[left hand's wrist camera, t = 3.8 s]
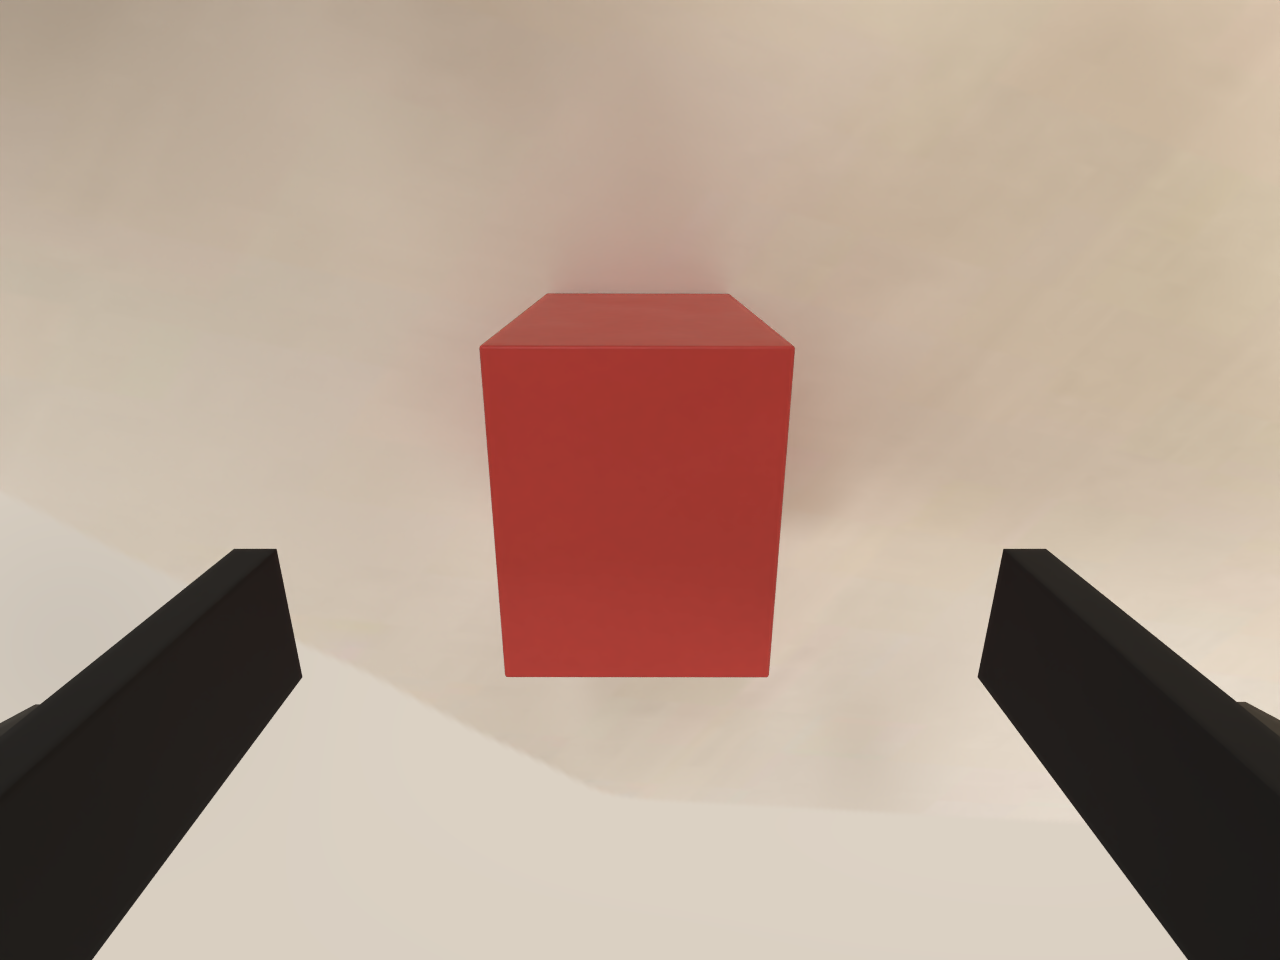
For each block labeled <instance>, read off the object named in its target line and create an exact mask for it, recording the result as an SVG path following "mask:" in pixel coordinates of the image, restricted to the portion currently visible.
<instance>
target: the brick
mask: <svg viewBox="0 0 1280 960" xmlns="http://www.w3.org/2000/svg"><path fill="white" fill-rule="evenodd" d="M794 353H795V348H794V346H793V345H791V344H790V343H789V342H788V341H786V340H785V339H784V338H783V337H781V336H780V335H779V334H778V333H777V332H775V331H774V330H773V329H772V328H770V327H769V326H768V325H767V324H765V323H764V322H763V321H762V320H760V319H759V318H758V317H757V316H756V315H754V314H753V313H752V312H751V311H749V310H748V309H747V308H746V307H744V306H743V305H742V304H741V303H739V302H738V301H737V300H736V299H735V298H733V297H732V296H731V295H729V294H546V295H545V296H544V297H542V298H541V299H540V300H538V301H537V302H536V303H535V304H533V305H532V306H531V307H530V308H528V309H527V310H526V311H524V312H523V313H522V314H521V315H519V316H518V317H517V318H515V319H514V320H513V321H512V322H510V323H509V324H508V325H507V326H505V327H504V328H503V329H501V330H500V331H499V332H498V333H496V334H495V335H494V336H492V337H491V338H490V339H489V340H487V341H486V342H485V343H484V344H482V345H481V346H480V361H481V373H482V386H483V399H484V411H485V424H486V437H487V450H488V462H489V475H490V488H491V501H492V513H493V526H494V539H495V551H496V564H497V577H498V590H499V602H500V615H501V628H502V641H503V653H504V666H505V675H506V677H768V675H769V666H770V653H771V641H772V628H773V616H774V603H775V591H776V578H777V566H778V553H779V541H780V528H781V516H782V503H783V491H784V478H785V465H786V453H787V440H788V428H789V415H790V403H791V390H792V378H793V365H794Z"/></svg>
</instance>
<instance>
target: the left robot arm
mask: <svg viewBox="0 0 1280 960" xmlns="http://www.w3.org/2000/svg"><path fill="white" fill-rule="evenodd" d="M301 678H302V673H301V668H300V663H299V658H298V653H297V648H296V643H295V638H294V633H293V628H292V623H291V618H290V614H289V609H288V604H287V599H286V594H285V589H284V584H283V579H282V574H281V569H280V564H279V559H278V554H277V549H233V550H232V551H231V552H230V553H228V554H227V555H226V556H225V557H223V558H222V559H221V560H220V561H218V562H217V563H216V564H215V565H213V566H212V567H211V568H210V569H208V570H207V571H206V572H205V573H203V574H202V575H201V576H200V577H198V578H197V579H196V580H195V581H194V582H192V583H191V584H190V585H189V586H187V587H186V588H185V589H184V590H182V591H181V592H180V593H179V594H177V595H176V596H175V597H174V598H172V599H171V600H170V601H169V602H167V603H166V604H165V605H164V606H162V607H161V608H160V609H159V610H157V611H156V612H155V613H154V614H152V615H151V616H150V617H149V618H147V619H146V620H145V621H144V622H142V623H141V624H140V625H139V626H137V627H136V628H135V629H134V630H133V631H131V632H130V633H129V634H127V635H126V636H125V637H124V638H122V639H121V640H120V641H119V642H118V643H116V644H115V645H114V646H113V647H111V648H110V649H109V650H108V651H106V652H105V653H104V654H103V655H101V656H100V657H99V658H98V659H96V660H95V661H94V662H93V663H91V664H90V665H89V666H88V667H86V668H85V669H84V670H83V671H81V672H80V673H79V674H78V675H76V676H75V677H74V678H73V679H71V680H70V681H69V682H68V683H66V684H65V685H64V686H63V687H61V688H60V689H59V690H58V691H56V692H55V693H54V694H53V695H52V696H50V697H49V698H48V699H46V700H45V701H44V702H43V703H41V704H40V705H33V706H32V707H30V708H28V709H26V710H24V711H22V712H20V713H18V714H17V715H15V716H13V717H11V718H9V719H7V720H5V721H4V722H2V723H0V960H92V959H93V958H94V956H95V955H96V954H97V952H98V951H99V950H100V948H101V947H102V946H103V944H104V943H105V942H106V940H107V939H108V938H109V936H110V935H111V934H112V932H113V931H114V930H115V928H116V927H117V926H118V924H119V923H120V921H121V920H122V919H123V917H124V916H125V915H126V913H127V912H128V911H129V909H130V908H131V907H132V905H133V904H134V903H135V901H136V900H137V899H138V897H139V896H140V895H141V893H142V892H143V890H144V889H145V888H146V887H147V885H148V884H149V882H150V881H151V880H152V878H153V877H154V876H155V874H156V873H157V872H158V870H159V869H160V868H161V866H162V865H163V864H164V862H165V861H166V860H167V858H168V857H169V856H170V854H171V853H172V852H173V850H174V849H175V848H176V846H177V845H178V843H179V842H180V841H181V839H182V838H183V837H184V835H185V834H186V833H187V831H188V830H189V829H190V827H191V826H192V825H193V823H194V822H195V821H196V819H197V818H198V817H199V815H200V814H201V813H202V811H203V810H204V809H205V807H206V806H207V804H208V803H209V802H210V801H211V799H212V798H213V796H214V795H215V794H216V792H217V791H218V790H219V788H220V787H221V786H222V784H223V783H224V782H225V780H226V779H227V778H228V776H229V775H230V774H231V772H232V771H233V770H234V768H235V767H236V766H237V764H238V763H239V762H240V760H241V759H242V757H243V756H244V755H245V753H246V752H247V751H248V749H249V748H250V747H251V745H252V744H253V743H254V741H255V740H256V739H257V737H258V736H259V735H260V733H261V732H262V731H263V729H264V728H265V727H266V725H267V724H268V723H269V721H270V720H271V719H272V717H273V716H274V714H275V713H276V712H277V710H278V709H279V708H280V706H281V705H282V704H283V702H284V701H285V700H286V698H287V697H288V696H289V694H290V693H291V692H292V690H293V689H294V688H295V686H296V685H297V684H298V682H299V681H300V679H301ZM978 678H979V680H980V681H981V682H982V684H983V685H984V686H985V688H986V689H987V690H988V692H989V693H990V694H991V696H992V697H993V698H994V700H995V701H996V702H997V704H998V705H999V706H1000V708H1001V709H1002V710H1003V712H1004V713H1005V714H1006V716H1007V717H1008V719H1009V720H1010V721H1011V723H1012V724H1013V725H1014V727H1015V728H1016V729H1017V731H1018V732H1019V733H1020V735H1021V736H1022V737H1023V739H1024V740H1025V741H1026V743H1027V744H1028V745H1029V747H1030V748H1031V749H1032V751H1033V752H1034V753H1035V755H1036V756H1037V757H1038V759H1039V760H1040V762H1041V763H1042V764H1043V766H1044V767H1045V768H1046V770H1047V771H1048V772H1049V774H1050V775H1051V776H1052V778H1053V779H1054V780H1055V782H1056V783H1057V784H1058V786H1059V787H1060V788H1061V790H1062V791H1063V792H1064V794H1065V795H1066V796H1067V798H1068V799H1069V801H1070V802H1071V803H1072V805H1073V806H1074V807H1075V809H1076V810H1077V811H1078V813H1079V814H1080V815H1081V817H1082V818H1083V819H1084V821H1085V822H1086V823H1087V825H1088V826H1089V827H1090V829H1091V830H1092V831H1093V833H1094V834H1095V835H1096V837H1097V838H1098V839H1099V841H1100V842H1101V844H1102V845H1103V846H1104V848H1105V849H1106V850H1107V852H1108V853H1109V854H1110V856H1111V857H1112V858H1113V860H1114V861H1115V862H1116V864H1117V865H1118V866H1119V868H1120V869H1121V870H1122V872H1123V873H1124V874H1125V876H1126V877H1127V878H1128V880H1129V881H1130V882H1131V884H1132V885H1133V887H1134V888H1135V889H1136V890H1137V892H1138V893H1139V895H1140V896H1141V897H1142V899H1143V900H1144V901H1145V903H1146V904H1147V905H1148V907H1149V908H1150V909H1151V911H1152V912H1153V913H1154V915H1155V916H1156V917H1157V919H1158V920H1159V921H1160V923H1161V924H1162V926H1163V927H1164V928H1165V930H1166V931H1167V932H1168V934H1169V935H1170V936H1171V938H1172V939H1173V940H1174V942H1175V943H1176V944H1177V946H1178V947H1179V948H1180V950H1181V951H1182V952H1183V954H1184V955H1185V956H1186V958H1187V959H1188V960H1280V720H1278V719H1277V718H1275V717H1273V716H1271V715H1269V714H1267V713H1265V712H1263V711H1262V710H1260V709H1258V708H1256V707H1254V706H1252V705H1250V704H1248V703H1246V702H1236V701H1235V700H1234V699H1232V698H1231V697H1230V696H1229V695H1227V694H1226V693H1225V692H1224V691H1222V690H1221V689H1220V688H1219V687H1217V686H1216V685H1215V684H1214V683H1212V682H1211V681H1210V680H1209V679H1207V678H1206V677H1205V676H1204V675H1202V674H1201V673H1200V672H1199V671H1197V670H1196V669H1195V668H1194V667H1192V666H1191V665H1190V664H1189V663H1187V662H1186V661H1185V660H1184V659H1182V658H1181V657H1180V656H1179V655H1177V654H1176V653H1175V652H1174V651H1172V650H1171V649H1170V648H1169V647H1167V646H1166V645H1165V644H1164V643H1163V642H1161V641H1160V640H1159V639H1158V638H1156V637H1155V636H1154V635H1153V634H1151V633H1150V632H1149V631H1148V630H1146V629H1145V628H1144V627H1143V626H1141V625H1140V624H1139V623H1138V622H1136V621H1135V620H1134V619H1133V618H1131V617H1130V616H1129V615H1128V614H1126V613H1125V612H1124V611H1123V610H1121V609H1120V608H1119V607H1118V606H1116V605H1115V604H1114V603H1113V602H1111V601H1110V600H1109V599H1108V598H1106V597H1105V596H1104V595H1103V594H1101V593H1100V592H1099V591H1098V590H1096V589H1095V588H1094V587H1093V586H1091V585H1090V584H1089V583H1088V582H1086V581H1085V580H1084V579H1083V578H1082V577H1080V576H1079V575H1078V574H1077V573H1075V572H1074V571H1073V570H1072V569H1070V568H1069V567H1068V566H1067V565H1065V564H1064V563H1063V562H1062V561H1060V560H1059V559H1058V558H1057V557H1055V556H1054V555H1053V554H1052V553H1050V552H1049V551H1048V550H1047V549H1003V554H1002V559H1001V564H1000V569H999V574H998V579H997V584H996V589H995V594H994V599H993V604H992V609H991V614H990V618H989V623H988V628H987V633H986V638H985V643H984V648H983V653H982V658H981V663H980V668H979V673H978Z"/></svg>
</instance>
